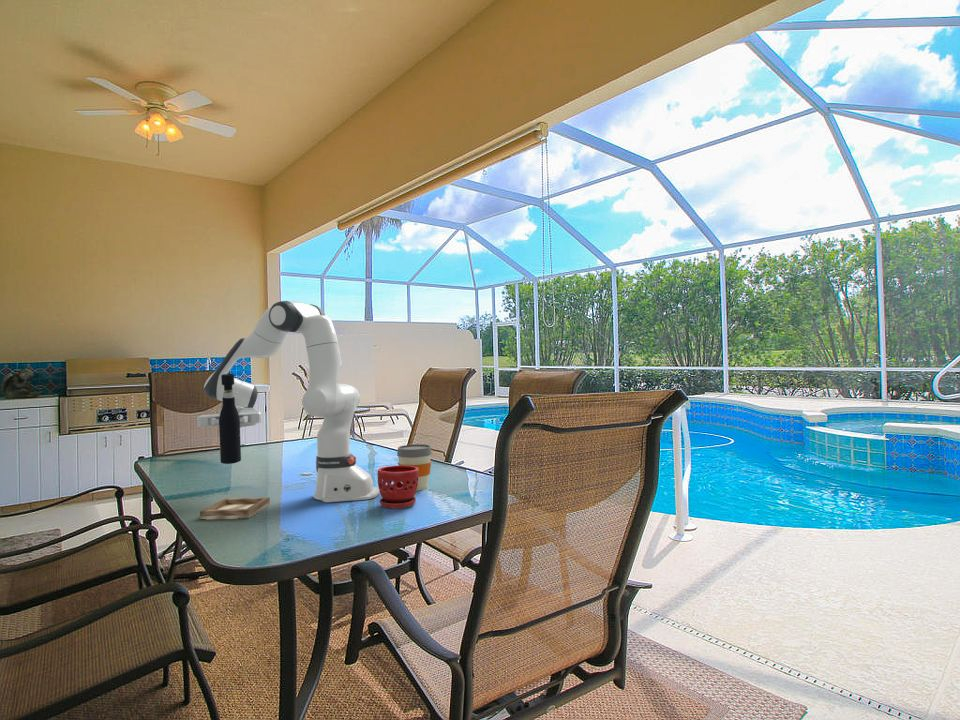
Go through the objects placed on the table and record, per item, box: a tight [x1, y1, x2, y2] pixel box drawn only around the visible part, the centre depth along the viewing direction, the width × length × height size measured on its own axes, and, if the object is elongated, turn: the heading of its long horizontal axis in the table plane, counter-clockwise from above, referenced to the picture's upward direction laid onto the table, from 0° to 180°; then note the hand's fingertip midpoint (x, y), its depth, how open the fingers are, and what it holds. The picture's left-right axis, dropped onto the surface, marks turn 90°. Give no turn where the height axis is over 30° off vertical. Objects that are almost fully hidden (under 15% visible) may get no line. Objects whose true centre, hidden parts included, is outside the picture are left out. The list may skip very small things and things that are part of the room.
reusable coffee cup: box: [396, 443, 433, 492], centre depth 192 cm, size 13×13×15 cm
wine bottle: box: [218, 373, 242, 465], centre depth 178 cm, size 6×6×30 cm
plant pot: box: [376, 465, 419, 510], centre depth 169 cm, size 13×13×12 cm
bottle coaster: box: [199, 497, 271, 520], centre depth 166 cm, size 15×15×2 cm
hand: (229, 421), depth 177 cm, fingers closed on wine bottle, 6 cm apart
